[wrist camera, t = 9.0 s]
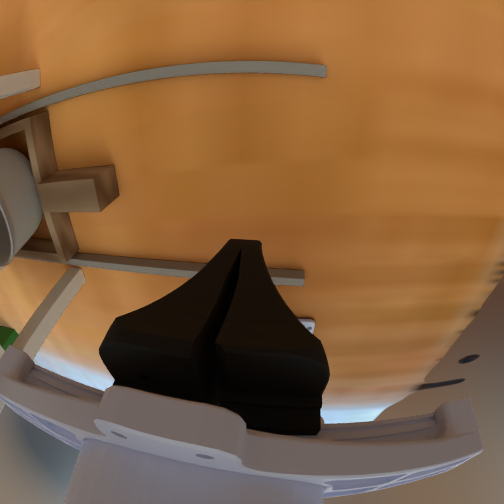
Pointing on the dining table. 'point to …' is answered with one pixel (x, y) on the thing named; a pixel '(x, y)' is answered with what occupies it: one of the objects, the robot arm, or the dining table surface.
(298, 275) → the shelf
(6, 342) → the hardback book
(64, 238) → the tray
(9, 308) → the dining table surface
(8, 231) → the teacup
